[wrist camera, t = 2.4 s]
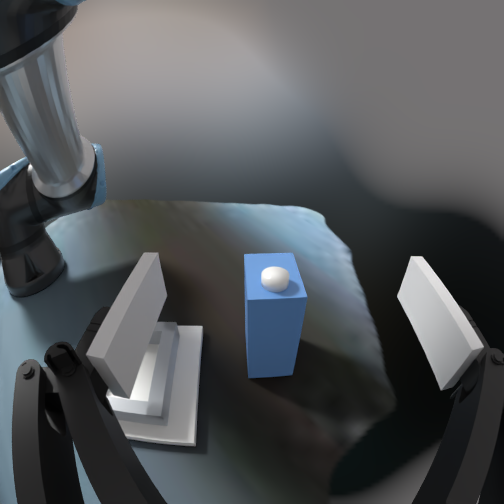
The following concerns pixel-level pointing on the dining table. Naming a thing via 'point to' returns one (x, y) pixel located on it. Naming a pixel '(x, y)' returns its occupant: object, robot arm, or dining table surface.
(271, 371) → the blue drink carton
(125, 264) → the dining table surface
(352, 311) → the dining table surface
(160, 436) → the white square socket base
